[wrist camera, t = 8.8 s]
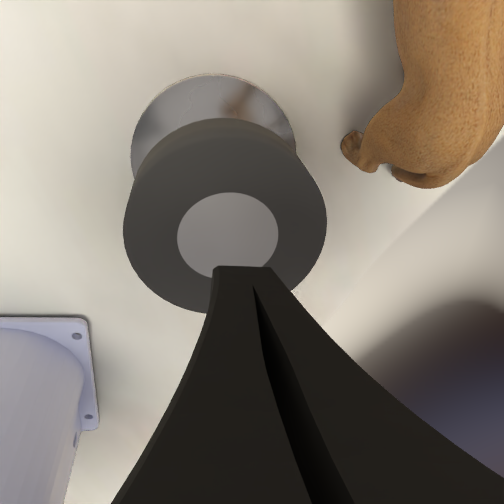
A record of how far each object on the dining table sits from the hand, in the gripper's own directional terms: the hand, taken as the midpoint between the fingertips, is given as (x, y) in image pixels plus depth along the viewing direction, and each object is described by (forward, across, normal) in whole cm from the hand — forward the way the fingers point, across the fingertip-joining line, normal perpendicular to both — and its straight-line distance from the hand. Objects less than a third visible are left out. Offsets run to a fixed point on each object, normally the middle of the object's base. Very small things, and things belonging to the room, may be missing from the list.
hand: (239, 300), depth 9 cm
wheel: (+5, 0, 0) cm, 5 cm away
